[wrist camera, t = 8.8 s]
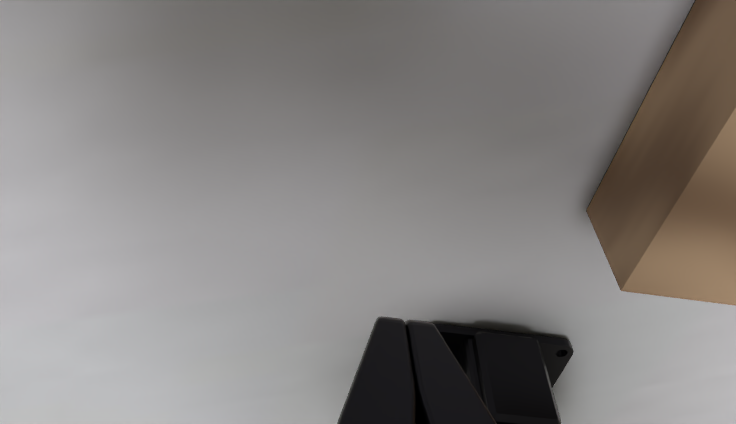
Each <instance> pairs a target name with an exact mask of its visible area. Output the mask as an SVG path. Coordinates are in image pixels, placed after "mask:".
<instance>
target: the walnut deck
mask: <svg viewBox="0 0 736 424" xmlns="http://www.w3.org/2000/svg"><path fill="white" fill-rule="evenodd" d="M586 211H587V213H588V216H589V218H590V220H591V223H592V225H593V227H594V230H595V232H596V234H597V237H598V239H599V241H600V244H601V246H602V248H603V251H604V253H605V255H606V257H607V260H608V262H609V264H610V267H611V269H612V271H613V274H614V276H615V278H616V281H617V283H618V285H619V288H620V290H621V291H626V292H634V293H642V294H650V295H658V296H666V297H673V298H681V299H689V300H697V301H705V302H713V303H721V304H728V305H736V0H696V1H695V3H694V5H693V6H692V8H691V10H690V12H689V14H688V16H687V18H686V20H685V22H684V24H683V26H682V28H681V30H680V31H679V33H678V35H677V37H676V39H675V41H674V43H673V45H672V47H671V49H670V51H669V53H668V55H667V56H666V58H665V60H664V62H663V64H662V66H661V68H660V70H659V72H658V74H657V76H656V78H655V80H654V81H653V83H652V85H651V87H650V89H649V91H648V93H647V95H646V97H645V99H644V101H643V103H642V105H641V106H640V108H639V110H638V112H637V114H636V116H635V118H634V120H633V122H632V124H631V126H630V128H629V130H628V131H627V133H626V135H625V137H624V139H623V141H622V143H621V145H620V147H619V149H618V151H617V153H616V155H615V156H614V158H613V160H612V162H611V164H610V166H609V168H608V170H607V172H606V174H605V176H604V178H603V180H602V181H601V183H600V185H599V187H598V189H597V191H596V193H595V195H594V197H593V199H592V201H591V203H590V205H589V206H588V208H587V210H586Z"/></svg>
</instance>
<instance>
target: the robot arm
mask: <svg viewBox="0 0 736 424" xmlns="http://www.w3.org/2000/svg"><path fill="white" fill-rule="evenodd" d="M572 355H573V349H572V346H571V343H570V341H569V340H567V339H563V338H555V337H546V336H537V335H529V334H520V333H511V332H503V331H494V330H485V329H477V328H468V327H459V326H451V325H442V324H435V325H434V324H432V323H430V322H424V321H415V320H408V321H406V322H404V321H403V320H402V319H398V318H389V317H378V318H377V320H376V322H375V324H374V327H373V330H372V332H371V335H370V338H369V340H368V343H367V346H366V348H365V351H364V354H363V356H362V359H361V362H360V364H359V367H358V370H357V372H356V375H355V377H354V380H353V383H352V385H351V388H350V391H349V393H348V396H347V399H346V401H345V404H344V407H343V409H342V412H341V415H340V417H339V420H338V423H337V424H561V419H560V416H559V412H558V409H557V405H556V401H555V398H554V394H553V390H552V387H553V386H554V384H555V382H556V381H557V379H558V377H559V376H560V374H561V373H562V371H563V369H564V368H565V366H566V364H567V363H568V361H569V360H570V358H571V356H572Z"/></svg>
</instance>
